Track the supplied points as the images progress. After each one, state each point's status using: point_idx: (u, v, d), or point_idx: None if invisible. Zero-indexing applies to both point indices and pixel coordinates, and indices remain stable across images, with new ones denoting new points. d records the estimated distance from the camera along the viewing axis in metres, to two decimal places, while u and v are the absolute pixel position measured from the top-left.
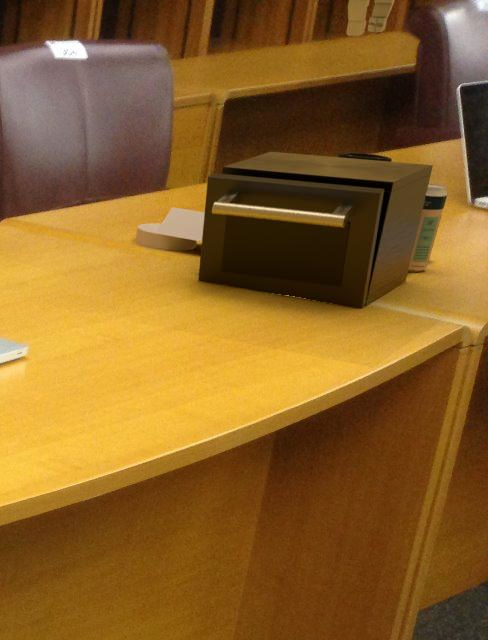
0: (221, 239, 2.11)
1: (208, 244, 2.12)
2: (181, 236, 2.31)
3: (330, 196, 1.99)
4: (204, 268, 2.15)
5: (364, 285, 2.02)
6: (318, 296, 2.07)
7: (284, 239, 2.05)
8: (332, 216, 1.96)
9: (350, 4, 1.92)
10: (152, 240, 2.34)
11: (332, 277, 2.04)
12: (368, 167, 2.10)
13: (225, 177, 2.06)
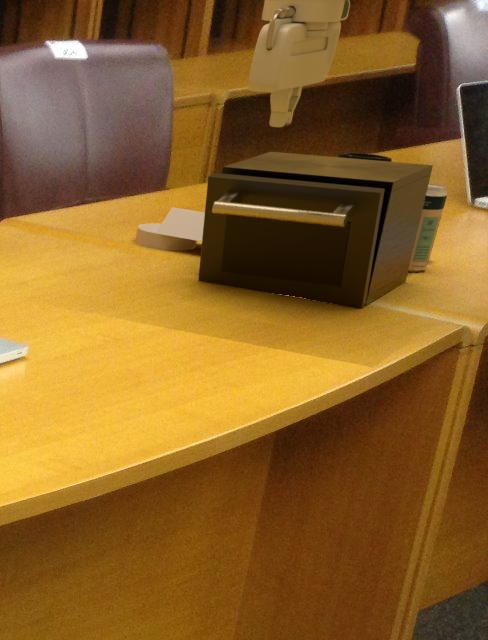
0: (221, 239, 2.11)
1: (208, 244, 2.12)
2: (181, 236, 2.31)
3: (330, 196, 1.99)
4: (204, 268, 2.15)
5: (364, 285, 2.02)
6: (318, 296, 2.07)
7: (284, 239, 2.05)
8: (332, 215, 1.96)
9: (272, 95, 1.88)
10: (152, 239, 2.34)
11: (332, 277, 2.04)
12: (368, 167, 2.10)
13: (226, 176, 2.06)
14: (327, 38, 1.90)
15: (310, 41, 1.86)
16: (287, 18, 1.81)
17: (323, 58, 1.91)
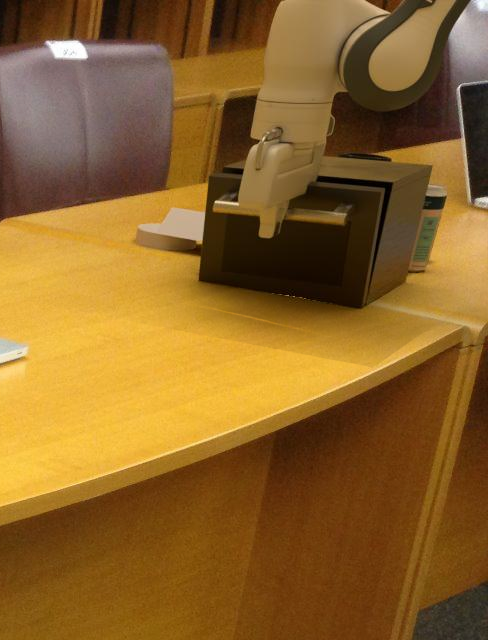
0: (221, 238, 2.11)
1: (208, 244, 2.12)
2: (181, 236, 2.31)
3: (331, 195, 1.99)
4: (204, 268, 2.15)
5: (364, 285, 2.02)
6: (318, 296, 2.07)
7: (285, 238, 2.05)
8: (333, 214, 1.96)
9: None
10: (152, 239, 2.34)
11: (332, 277, 2.04)
12: (368, 167, 2.10)
13: (227, 176, 2.06)
14: (313, 152, 1.99)
15: (297, 158, 1.95)
16: (275, 139, 1.89)
17: (309, 171, 1.99)
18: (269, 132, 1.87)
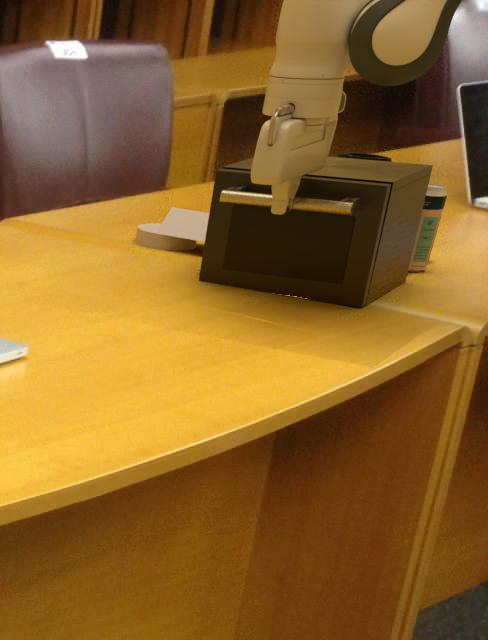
0: (224, 235, 2.12)
1: (211, 241, 2.13)
2: (181, 236, 2.31)
3: (337, 189, 2.00)
4: (206, 266, 2.15)
5: (366, 283, 2.02)
6: (319, 295, 2.07)
7: (288, 234, 2.06)
8: (340, 203, 1.97)
9: (273, 185, 1.97)
10: (152, 239, 2.34)
11: (334, 274, 2.04)
12: (368, 167, 2.10)
13: (234, 171, 2.08)
14: (325, 129, 2.00)
15: (309, 134, 1.95)
16: (287, 115, 1.90)
17: (321, 148, 2.00)
18: (281, 107, 1.88)
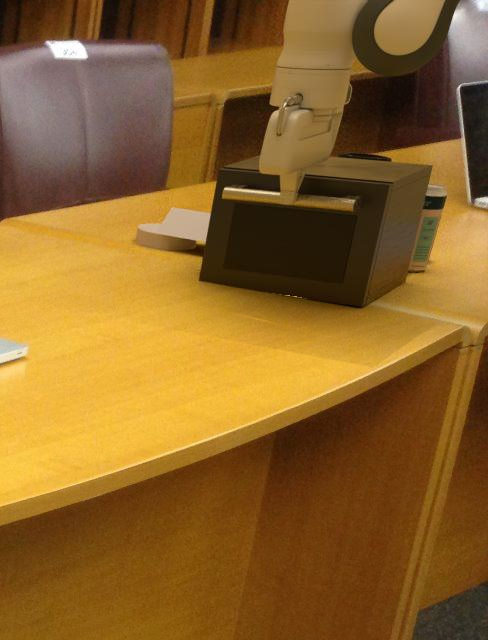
0: (226, 234, 2.12)
1: (212, 240, 2.13)
2: (181, 236, 2.31)
3: (339, 188, 2.01)
4: (206, 265, 2.15)
5: (366, 282, 2.03)
6: (319, 294, 2.07)
7: (290, 233, 2.06)
8: (342, 200, 1.97)
9: (282, 175, 1.98)
10: (152, 240, 2.34)
11: (335, 273, 2.04)
12: (368, 167, 2.10)
13: (236, 170, 2.09)
14: (331, 120, 2.00)
15: (316, 125, 1.96)
16: (295, 105, 1.90)
17: (326, 139, 2.01)
18: (290, 97, 1.88)
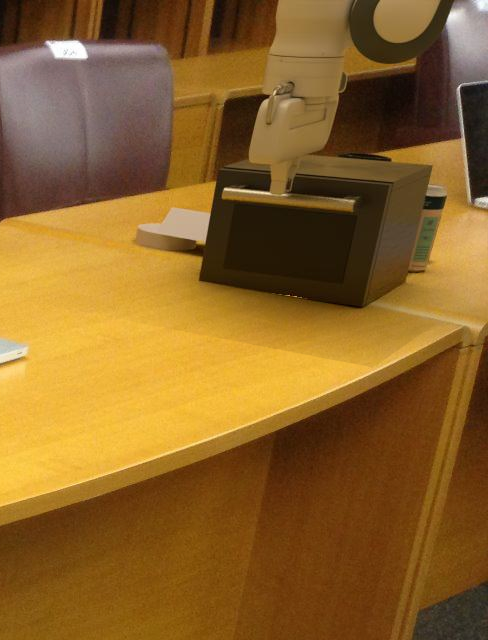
0: (225, 234, 2.12)
1: (212, 240, 2.13)
2: (181, 236, 2.31)
3: (339, 188, 2.01)
4: (206, 265, 2.15)
5: (366, 282, 2.03)
6: (319, 294, 2.07)
7: (289, 233, 2.06)
8: (342, 200, 1.97)
9: (272, 165, 1.96)
10: (152, 239, 2.34)
11: (335, 273, 2.04)
12: (368, 167, 2.10)
13: (236, 170, 2.09)
14: (325, 109, 1.98)
15: (309, 113, 1.94)
16: (286, 94, 1.88)
17: (321, 128, 1.98)
18: (280, 86, 1.86)
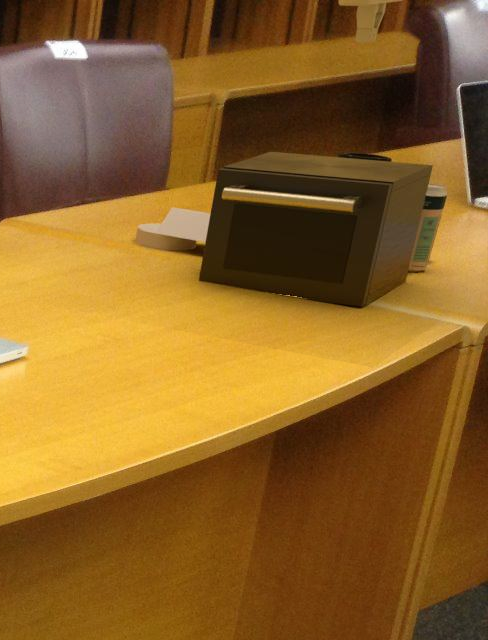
0: (225, 234, 2.12)
1: (212, 240, 2.13)
2: (181, 236, 2.31)
3: (339, 188, 2.01)
4: (206, 265, 2.15)
5: (366, 282, 2.03)
6: (319, 294, 2.07)
7: (289, 233, 2.06)
8: (342, 200, 1.97)
9: (359, 11, 1.93)
10: (152, 240, 2.34)
11: (335, 273, 2.04)
12: (368, 167, 2.10)
13: (236, 170, 2.09)
14: None
15: None
16: None
17: None
18: None
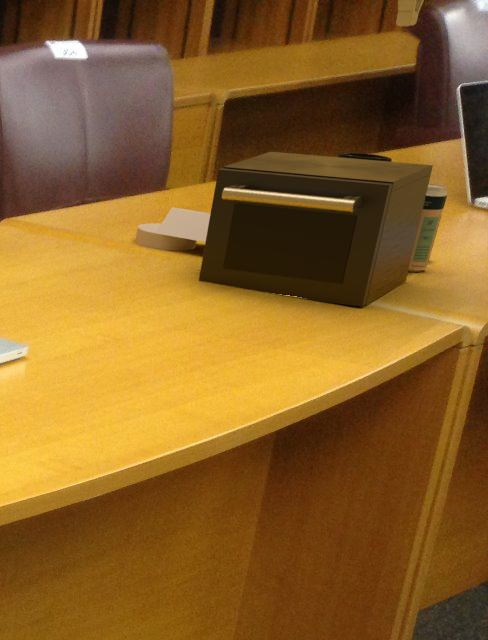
0: (225, 234, 2.12)
1: (212, 240, 2.13)
2: (181, 236, 2.31)
3: (339, 188, 2.01)
4: (206, 265, 2.15)
5: (366, 282, 2.03)
6: (319, 294, 2.07)
7: (289, 233, 2.06)
8: (342, 200, 1.97)
9: None
10: (152, 240, 2.34)
11: (335, 273, 2.04)
12: (368, 167, 2.10)
13: (236, 170, 2.09)
14: None
15: None
16: None
17: None
18: None
